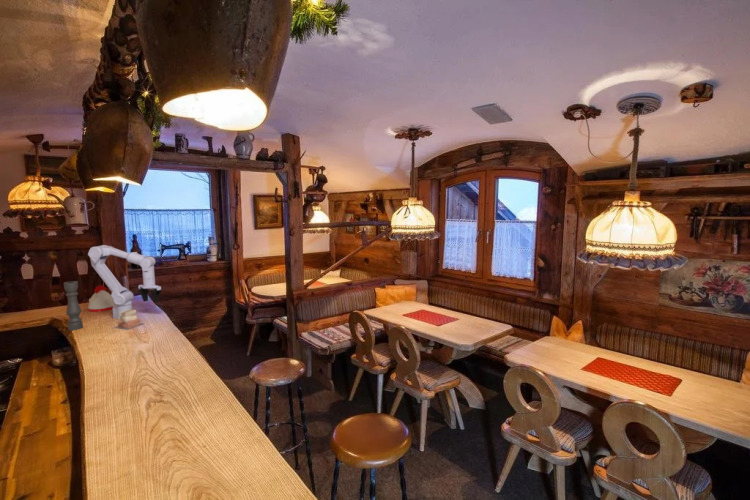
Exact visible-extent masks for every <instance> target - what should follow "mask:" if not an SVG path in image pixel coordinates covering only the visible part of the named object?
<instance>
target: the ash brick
mask: <svg viewBox="0 0 750 500" xmlns="http://www.w3.org/2000/svg"><path fill="white" fill-rule="evenodd" d="M135 319H138V317H137V310H136V309H133V308H132V309H130V310H126V311H123V312H120V319H119V321H120V322H129V321H132V320H135Z"/></svg>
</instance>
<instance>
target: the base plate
mask: <svg viewBox="0 0 750 500" xmlns="http://www.w3.org/2000/svg"><path fill="white" fill-rule="evenodd" d="M143 325H144V323H141V322H140V325H137V326H134V327H131V328H128V329H127V328H120V327H118V325H117V326H115V327H113V329H118V330H127V331H128V330H129V331H130V330H131V329H134V328H137V327H141V326H143Z"/></svg>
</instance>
